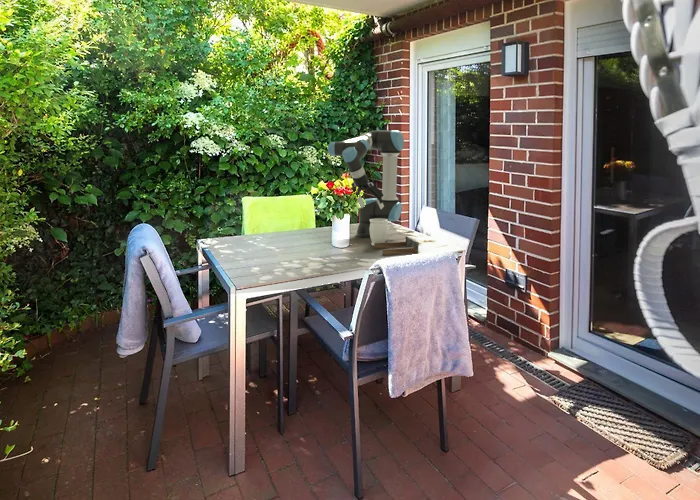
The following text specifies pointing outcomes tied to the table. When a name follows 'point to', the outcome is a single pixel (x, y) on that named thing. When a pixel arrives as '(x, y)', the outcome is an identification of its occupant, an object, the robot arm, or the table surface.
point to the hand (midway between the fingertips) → (372, 207)
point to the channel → (408, 243)
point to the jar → (378, 230)
